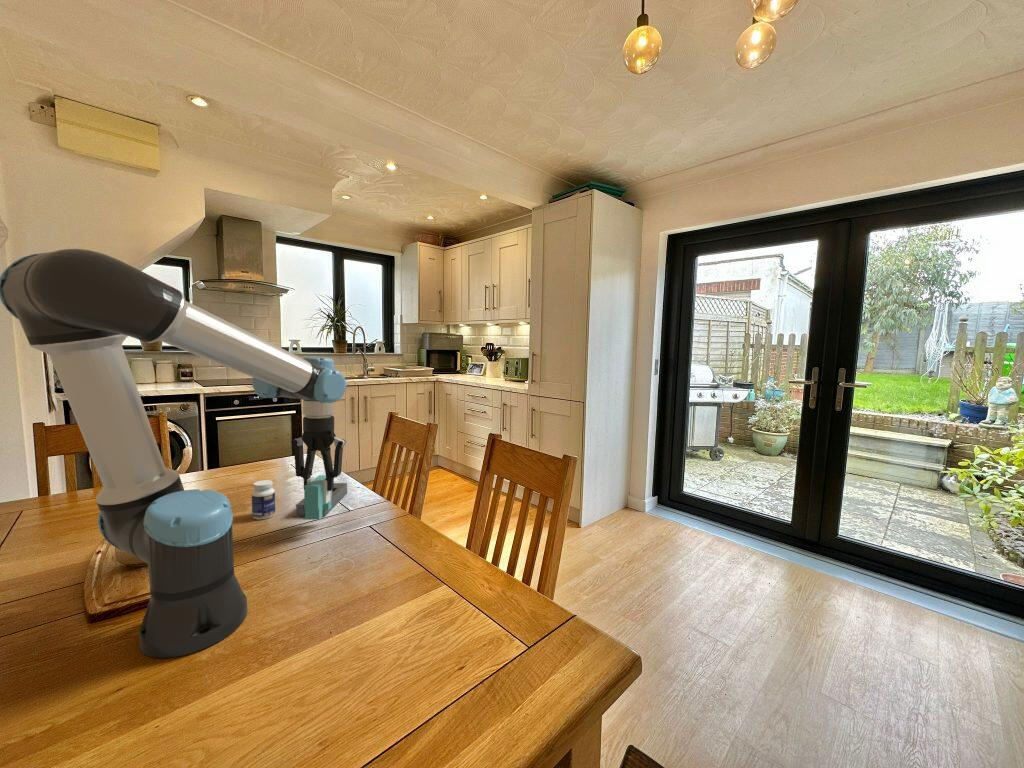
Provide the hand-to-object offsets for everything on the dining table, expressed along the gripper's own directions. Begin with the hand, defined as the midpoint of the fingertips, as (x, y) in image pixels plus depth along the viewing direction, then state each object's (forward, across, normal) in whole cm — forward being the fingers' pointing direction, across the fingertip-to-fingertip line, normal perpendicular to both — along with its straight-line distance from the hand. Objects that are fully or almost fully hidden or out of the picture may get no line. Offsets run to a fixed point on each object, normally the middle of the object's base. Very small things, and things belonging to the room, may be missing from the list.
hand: (318, 501), depth 109 cm
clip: (+3, 0, 0) cm, 3 cm away
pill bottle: (+8, +19, -8) cm, 22 cm away
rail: (+7, +6, -17) cm, 19 cm away
